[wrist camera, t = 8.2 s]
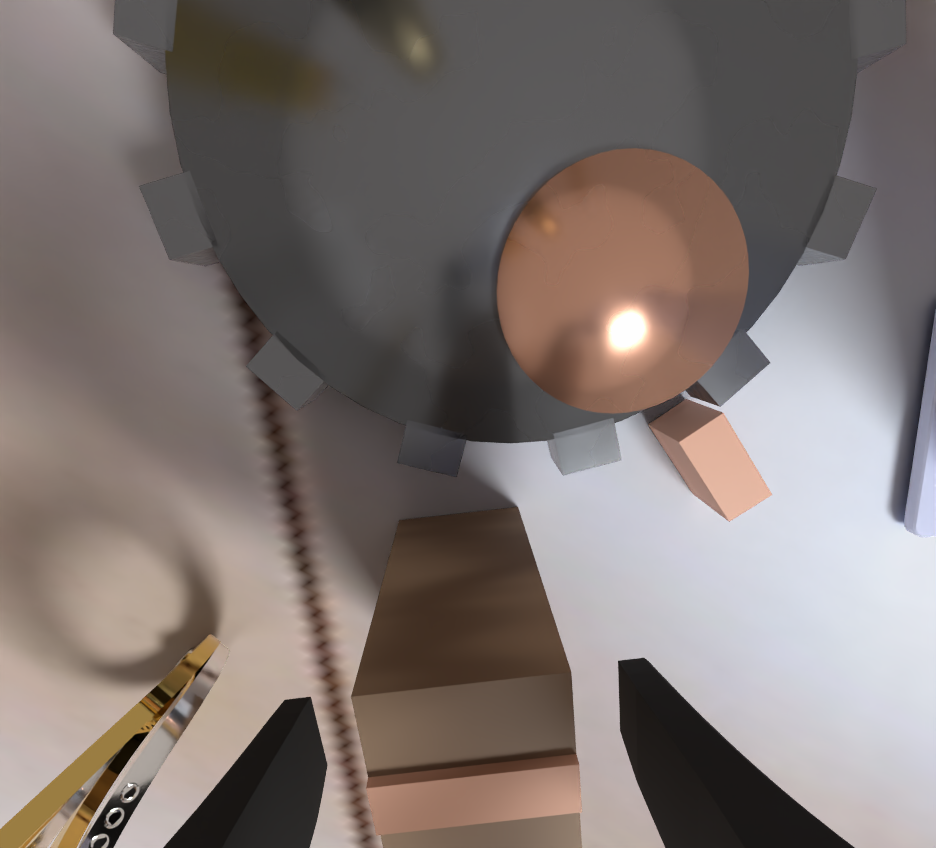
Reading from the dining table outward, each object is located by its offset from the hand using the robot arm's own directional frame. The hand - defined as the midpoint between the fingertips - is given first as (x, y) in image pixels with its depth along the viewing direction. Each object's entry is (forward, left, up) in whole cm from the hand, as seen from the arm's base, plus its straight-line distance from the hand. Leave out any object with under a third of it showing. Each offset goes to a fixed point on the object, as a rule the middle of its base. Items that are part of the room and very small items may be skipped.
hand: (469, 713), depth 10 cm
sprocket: (-3, -13, -5) cm, 14 cm away
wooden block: (0, 0, -5) cm, 5 cm away
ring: (+10, +2, -6) cm, 12 cm away
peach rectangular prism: (-8, -4, -5) cm, 10 cm away
